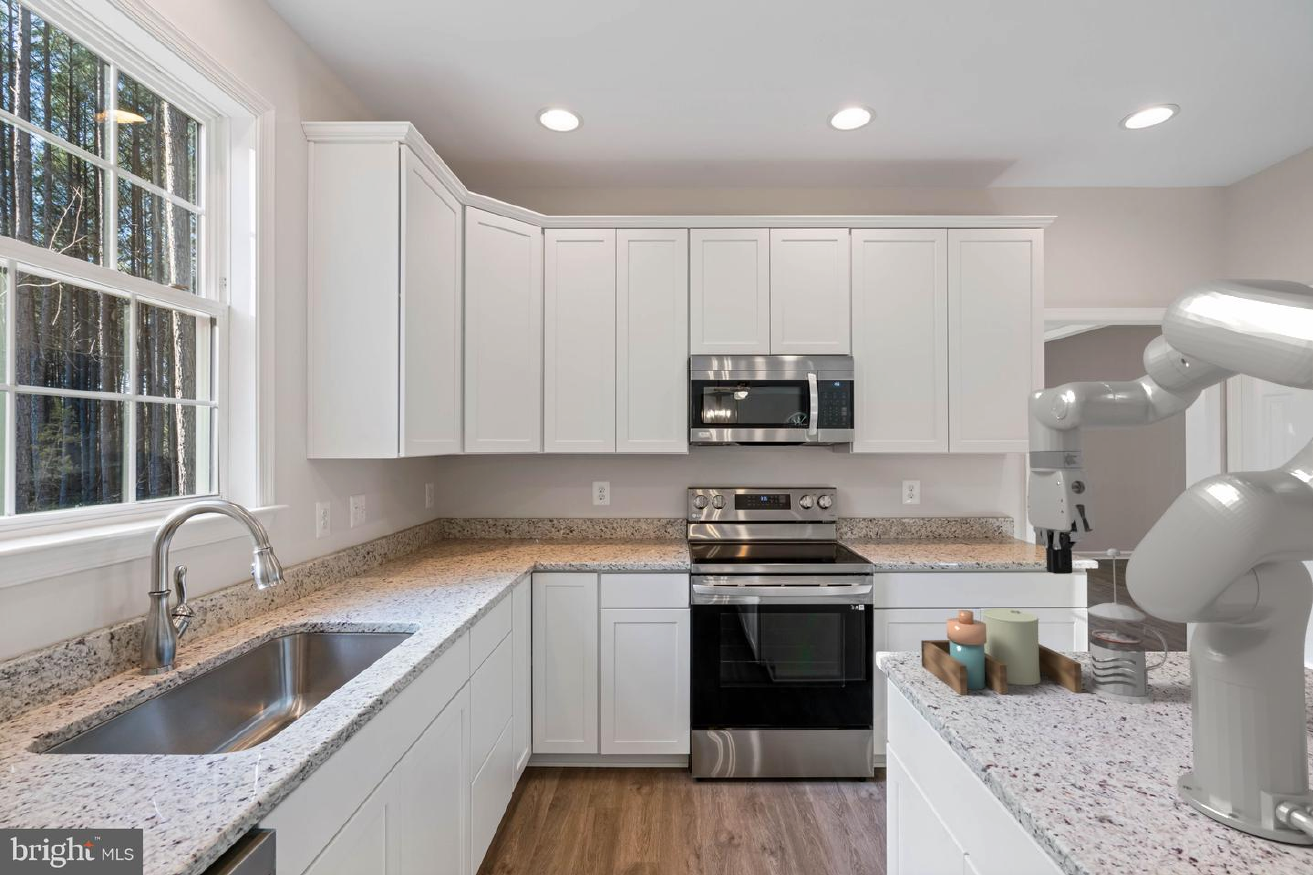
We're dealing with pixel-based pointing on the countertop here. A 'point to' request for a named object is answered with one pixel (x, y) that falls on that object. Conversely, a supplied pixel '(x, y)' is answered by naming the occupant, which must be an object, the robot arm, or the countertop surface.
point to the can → (1014, 643)
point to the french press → (1120, 654)
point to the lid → (966, 629)
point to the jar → (971, 662)
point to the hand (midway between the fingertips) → (1059, 572)
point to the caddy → (996, 668)
